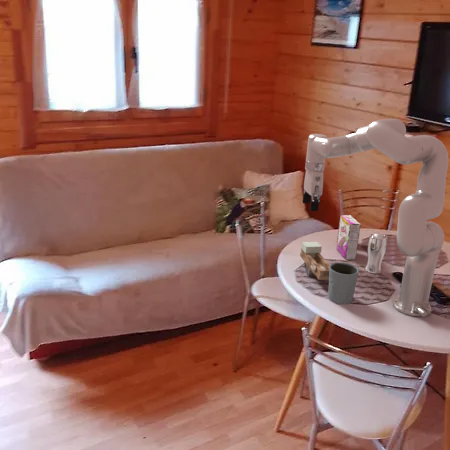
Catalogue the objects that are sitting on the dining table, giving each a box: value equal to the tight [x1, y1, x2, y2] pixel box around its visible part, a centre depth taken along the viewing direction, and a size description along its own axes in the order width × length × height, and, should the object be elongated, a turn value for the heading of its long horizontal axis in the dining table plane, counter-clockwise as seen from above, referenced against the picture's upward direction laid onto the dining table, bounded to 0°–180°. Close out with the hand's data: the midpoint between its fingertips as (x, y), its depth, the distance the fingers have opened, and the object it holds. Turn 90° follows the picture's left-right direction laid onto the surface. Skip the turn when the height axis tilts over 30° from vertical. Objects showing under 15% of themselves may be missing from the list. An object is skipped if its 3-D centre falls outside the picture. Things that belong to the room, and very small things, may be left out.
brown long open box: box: [299, 247, 331, 281], centre depth 195 cm, size 22×7×7 cm, turn 10°
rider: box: [301, 241, 323, 258], centre depth 200 cm, size 5×6×5 cm
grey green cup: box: [327, 262, 360, 305], centre depth 176 cm, size 10×10×12 cm
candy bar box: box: [336, 214, 362, 261], centre depth 212 cm, size 11×5×16 cm, turn 9°
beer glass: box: [364, 232, 388, 274], centre depth 199 cm, size 7×7×15 cm
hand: (310, 206), depth 202 cm, fingers open, 9 cm apart
